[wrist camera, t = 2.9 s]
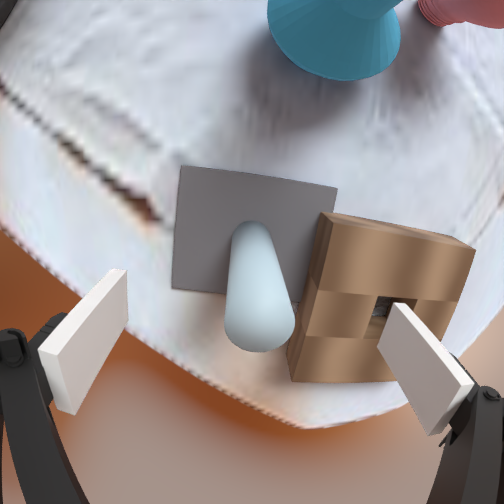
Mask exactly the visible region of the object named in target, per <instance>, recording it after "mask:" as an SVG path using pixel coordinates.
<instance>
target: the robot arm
mask: <svg viewBox="0 0 504 504" xmlns="http://www.w3.org/2000/svg"><path fill="white" fill-rule="evenodd" d="M15 2H16V0H0V27H1V26H2V24H3V23H4V21H5V20H6V18H7V17H8V15H9V13H10V12H11V10H12V8H13V6H14V4H15ZM127 322H128V302H127V271H126V270H120V269H114V268H112V269H111V270H110V271H109V272H108V273H107V274H106V275H105V276H104V277H103V278H102V279H101V280H100V281H99V282H98V283H97V284H96V285H95V286H94V287H93V288H92V289H91V290H90V291H89V292H88V294H87V295H86V296H85V297H84V298H83V299H82V300H81V301H80V302H79V303H78V304H77V305H76V306H75V307H74V309H73V310H72V311H71V312H70V313H69V314H67V313H63V312H61V313H59V314H57V315H55V316H53V317H52V318H51V319H50V320H49V321H48V322H47V323H46V324H45V326H43V327H42V328H41V329H40V331H39V332H37V333H36V335H35V336H34V337H33V338H32V339H31V340H30V341H29V342H28V343H27V339H26V336H25V334H24V333H23V332H22V331H21V330H18V329H14V328H10V329H4V330H1V331H0V504H3V497H2V439H3V438H2V437H3V425H4V421H5V426H6V432H7V437H8V441H9V446H10V450H11V454H12V458H13V462H14V466H15V469H16V473H17V477H18V480H19V483H20V486H21V489H22V492H23V495H24V498H25V501H26V504H90V503H89V502H88V500H87V498H86V496H85V494H84V492H83V490H82V488H81V486H80V484H79V482H78V480H77V477H76V475H75V473H74V471H73V469H72V466H71V464H70V462H69V459H68V457H67V455H66V452H65V450H64V447H63V444H62V442H61V439H60V437H59V434H58V431H57V429H56V425H55V423H54V420H53V417H52V414H51V411H50V408H49V404H50V403H51V401H52V400H53V399H54V402H55V404H56V407H57V409H58V410H61V411H64V412H67V413H69V414H72V415H76V413H77V411H78V409H79V407H80V405H81V404H82V402H83V400H84V398H85V396H86V394H87V392H88V390H89V389H90V387H91V385H92V383H93V381H94V379H95V378H96V376H97V374H98V372H99V370H100V369H101V367H102V365H103V363H104V362H105V360H106V358H107V356H108V355H109V353H110V351H111V349H112V348H113V346H114V344H115V342H116V341H117V339H118V337H119V336H120V334H121V332H122V331H123V329H124V327H125V326H126V324H127ZM377 348H378V349H379V351H380V353H381V354H382V356H383V358H384V359H385V361H386V363H387V364H388V366H389V368H390V370H391V371H392V373H393V375H394V376H395V378H396V380H397V382H398V383H399V385H400V387H401V388H402V390H403V392H404V394H405V396H406V397H407V399H408V401H409V403H410V404H411V406H412V408H413V410H414V412H415V413H416V415H417V417H418V419H419V420H420V422H421V424H422V426H423V428H424V430H425V432H426V434H427V435H428V436H430V435H434V434H439V433H441V432H442V431H443V430H444V428H445V427H446V426H447V424H448V423H449V424H450V426H451V427H452V429H451V430H450V431H449V433H448V434H447V435H446V437H445V438H444V439H443V440H442V442H441V443H440V444H439V447H441V446H442V444H444V443H445V447H444V450H443V454H442V458H441V462H440V465H439V468H438V471H437V475H436V478H435V481H434V484H433V487H432V490H431V492H430V495H429V498H428V501H427V503H426V504H504V398H501V396H500V394H499V393H498V392H497V391H496V390H495V389H493V388H491V387H488V386H481V387H480V386H479V385H478V384H477V382H476V381H475V380H474V379H473V377H471V375H470V374H469V373H468V371H467V370H465V368H464V367H463V365H461V364H460V362H459V361H458V359H457V358H456V357H455V356H454V355H452V354H451V353H450V352H448V351H447V350H446V348H445V347H444V346H443V345H442V344H441V343H440V341H439V340H438V339H437V338H436V337H435V336H434V335H433V333H432V332H431V331H430V330H429V329H428V328H427V327H426V326H425V324H424V323H423V322H422V321H421V320H420V319H419V318H418V317H417V316H416V314H415V313H414V312H413V311H412V310H411V309H410V308H409V307H408V306H407V305H406V304H405V303H394V302H393V305H392V308H391V311H390V314H389V317H388V319H387V322H386V325H385V327H384V330H383V333H382V335H381V338H380V340H379V343H378V345H377Z"/></svg>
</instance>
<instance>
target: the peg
mask: <svg viewBox="0 0 504 504" xmlns="http://www.w3.org/2000/svg"><path fill="white" fill-rule="evenodd" d="M294 327H295V316H294V313H293V309H292V306H291V303H290V299H289V296H288V292H287V289H286V286H285V282H284V279H283V275H282V272H281V269H280V265H279V262H278V259H277V255H276V252H275V249H274V246H273V242H272V239H271V236H270V233H269V230H268V229H267V228H266V226H265V225H263V224H262V223H260V222H257V221H246V222H243V223H241V224H240V225H238V226H237V227H236V229H235V230H234V232H233V236H232V244H231V254H230V265H229V275H228V286H227V297H226V308H225V319H224V328H225V332H226V334H227V336H228V338H229V339H230V340H231V342H232V343H234V344H235V345H236V346H238V347H239V348H241V349H243V350H246V351H250V352H267V351H271V350H274V349H276V348H278V347H280V346H281V345H283V344H284V343H285V342H286V341H287V340H288V339H289V338H290V336H291V335H292V333H293V330H294Z"/></svg>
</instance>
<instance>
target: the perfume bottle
mask: <svg viewBox="0 0 504 504" xmlns="http://www.w3.org/2000/svg"><path fill="white" fill-rule="evenodd" d="M401 1H402V0H268V8H267V18H268V23H269V29H270V31H271V33H272V36H273V38H274V40H275V42H276V43H277V44H278V46H279V47H280V49H281V50H282V51H283V53H284V54H285V55H286V56H287V57H288V58H289V59H290V60H291V61H292V62H293V63H294V64H296V65H297V66H298V67H300V68H302V69H304V70H305V71H307V72H310V73H312V74H315V75H318V76H321V77H324V78H327V79H333V80H339V81H353V80H358V79H364V78H368V77H371V76H374V75H376V74H378V73H380V72H382V71H383V70H384V69H386V68H387V67H388V66H389V65H390V64H391V63H392V61H393V60H394V59H395V57H396V55H397V53H398V50H399V46H400V41H401V35H400V26H399V22H398V19H397V16H396V13H395V11H394V9H393V7H395V6H396V5H397V4H399V3H400V2H401Z"/></svg>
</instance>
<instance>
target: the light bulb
mask: <svg viewBox="0 0 504 504" xmlns="http://www.w3.org/2000/svg"><path fill="white" fill-rule="evenodd" d="M418 5H419V8H420V10H421V12H422V14H423V15H424V16H425V18H426V19H427V20H428V21H430V22H431V23H432V24H434V25H436V26H441V27H443V26H446V25H451V24H453V23H463V22H465V21H467V22H470V23H473V24H476V25H480V26H484V27H488V28H495V29H502V28H504V0H418Z"/></svg>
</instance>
